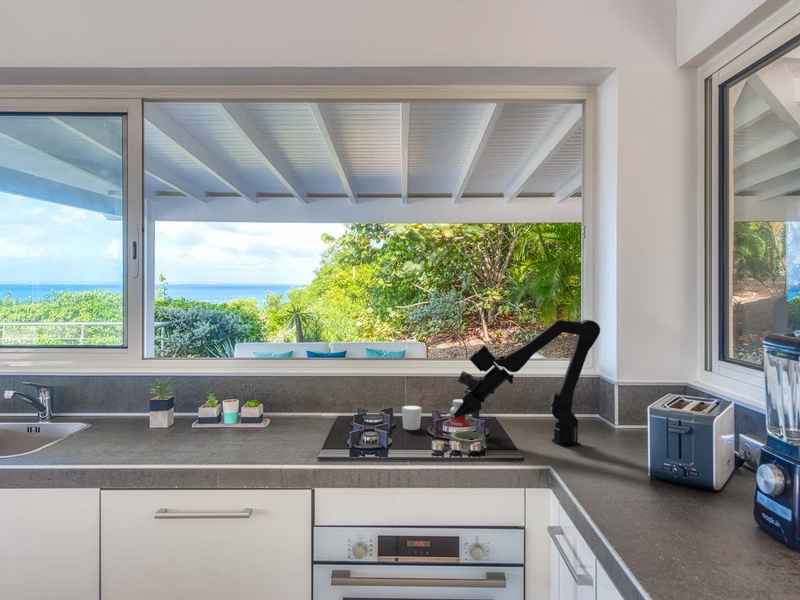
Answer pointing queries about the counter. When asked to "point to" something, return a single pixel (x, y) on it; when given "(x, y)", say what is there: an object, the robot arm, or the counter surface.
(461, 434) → the ring holder
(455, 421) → the pill bottle
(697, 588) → the counter surface
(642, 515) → the counter surface
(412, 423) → the white cup
